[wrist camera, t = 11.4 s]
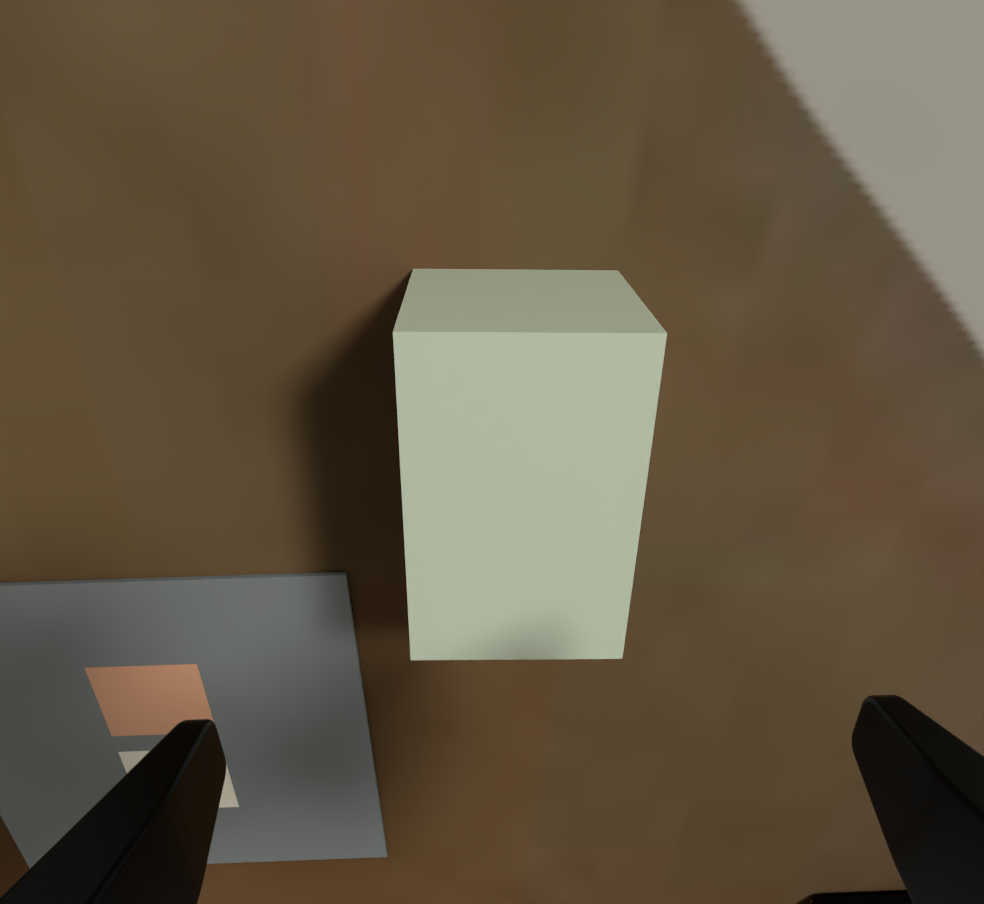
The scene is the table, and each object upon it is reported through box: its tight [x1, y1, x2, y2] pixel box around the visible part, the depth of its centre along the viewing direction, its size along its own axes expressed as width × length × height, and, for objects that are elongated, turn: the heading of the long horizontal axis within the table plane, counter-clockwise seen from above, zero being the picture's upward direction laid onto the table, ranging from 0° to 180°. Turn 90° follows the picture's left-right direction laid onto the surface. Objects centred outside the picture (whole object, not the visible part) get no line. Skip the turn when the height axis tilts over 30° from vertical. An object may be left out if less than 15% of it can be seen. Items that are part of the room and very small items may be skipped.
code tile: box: [0, 572, 387, 868], centre depth 24 cm, size 14×14×1 cm
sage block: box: [393, 269, 667, 660], centre depth 17 cm, size 5×8×5 cm, turn 179°
